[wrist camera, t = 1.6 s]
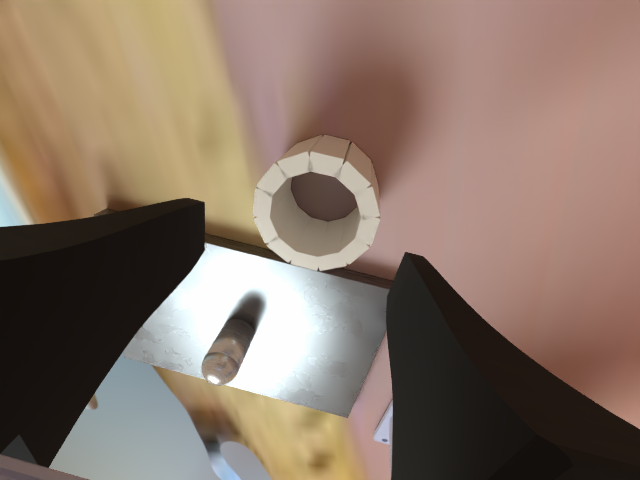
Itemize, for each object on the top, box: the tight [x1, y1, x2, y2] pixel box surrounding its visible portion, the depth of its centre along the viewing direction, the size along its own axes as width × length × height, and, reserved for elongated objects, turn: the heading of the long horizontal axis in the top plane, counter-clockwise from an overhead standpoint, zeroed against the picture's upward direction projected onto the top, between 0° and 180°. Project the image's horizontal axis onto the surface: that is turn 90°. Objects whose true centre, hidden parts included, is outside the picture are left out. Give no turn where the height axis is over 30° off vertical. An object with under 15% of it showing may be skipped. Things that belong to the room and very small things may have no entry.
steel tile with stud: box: [94, 209, 393, 418], centre depth 20 cm, size 20×14×5 cm
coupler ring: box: [253, 135, 380, 271], centre depth 15 cm, size 6×6×4 cm
